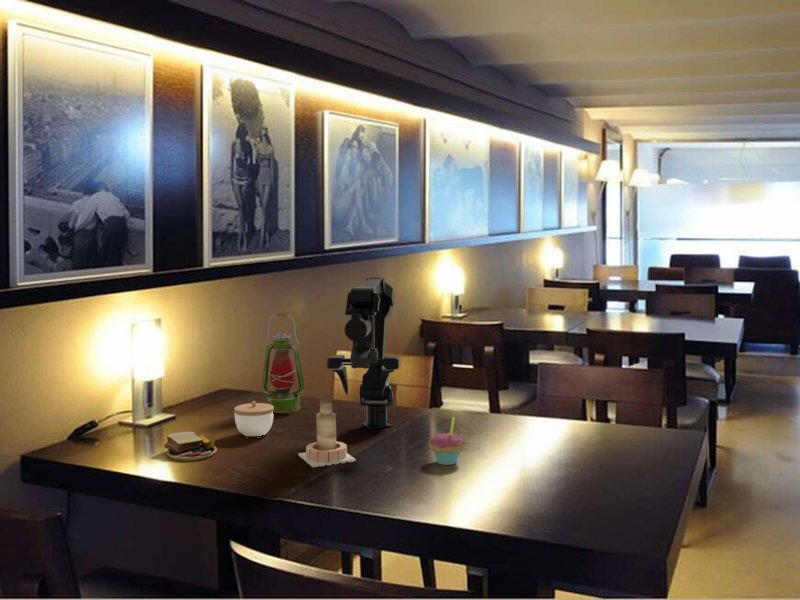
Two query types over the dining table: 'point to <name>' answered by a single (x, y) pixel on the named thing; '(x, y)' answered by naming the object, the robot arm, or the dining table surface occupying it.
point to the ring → (326, 455)
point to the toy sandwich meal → (189, 446)
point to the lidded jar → (254, 418)
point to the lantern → (282, 373)
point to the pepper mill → (326, 425)
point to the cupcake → (446, 446)
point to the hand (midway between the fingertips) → (364, 394)
